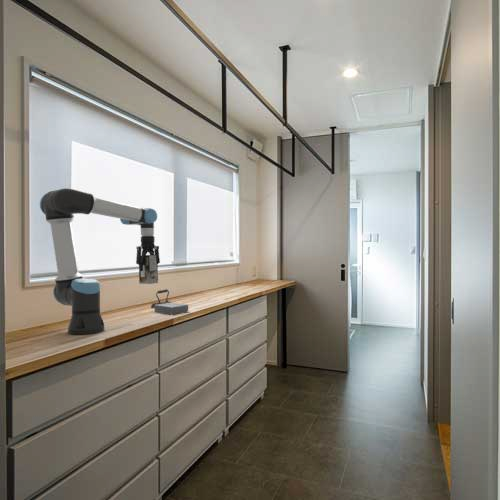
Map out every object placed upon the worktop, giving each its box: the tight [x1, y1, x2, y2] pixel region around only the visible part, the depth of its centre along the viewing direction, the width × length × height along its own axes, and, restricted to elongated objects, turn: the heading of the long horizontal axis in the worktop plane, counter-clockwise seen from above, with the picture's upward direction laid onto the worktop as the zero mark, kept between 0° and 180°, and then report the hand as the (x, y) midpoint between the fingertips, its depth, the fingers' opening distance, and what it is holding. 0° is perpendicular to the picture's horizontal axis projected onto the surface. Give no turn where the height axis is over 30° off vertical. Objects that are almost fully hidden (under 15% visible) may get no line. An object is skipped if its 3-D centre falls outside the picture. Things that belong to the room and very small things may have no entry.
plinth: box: [154, 302, 189, 315], centre depth 216 cm, size 12×16×4 cm
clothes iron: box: [150, 288, 172, 309], centre depth 237 cm, size 14×10×11 cm
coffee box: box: [138, 254, 159, 285], centre depth 208 cm, size 9×6×16 cm
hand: (148, 276), depth 209 cm, fingers closed on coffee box, 7 cm apart
